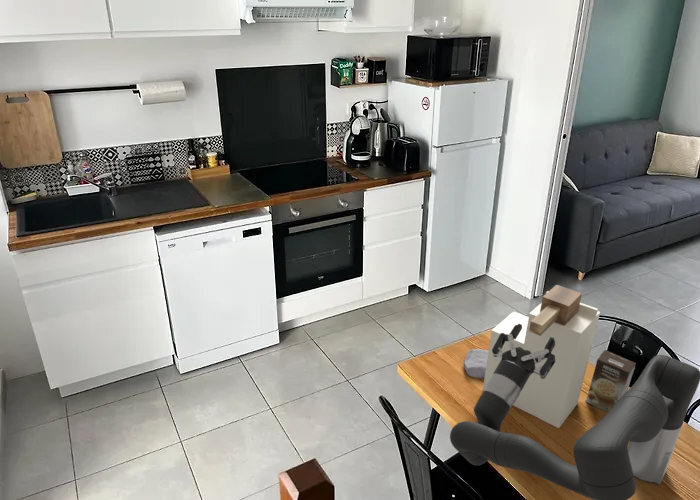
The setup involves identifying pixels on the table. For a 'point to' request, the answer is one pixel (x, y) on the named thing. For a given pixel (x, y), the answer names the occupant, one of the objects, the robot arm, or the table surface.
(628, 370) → the coffee box
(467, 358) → the stone block
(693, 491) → the table surface
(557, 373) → the step stand
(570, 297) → the mallet
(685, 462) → the table surface
